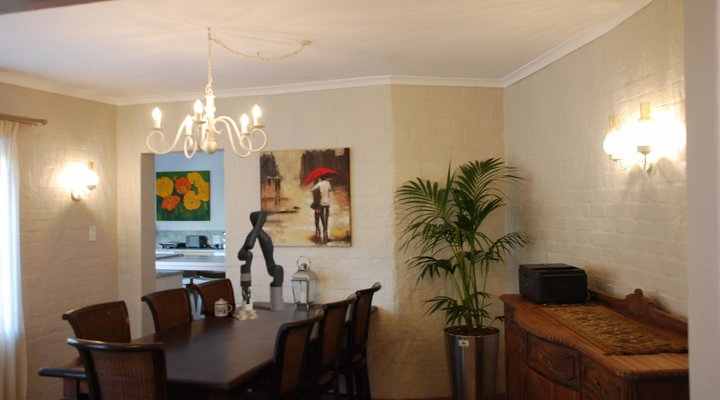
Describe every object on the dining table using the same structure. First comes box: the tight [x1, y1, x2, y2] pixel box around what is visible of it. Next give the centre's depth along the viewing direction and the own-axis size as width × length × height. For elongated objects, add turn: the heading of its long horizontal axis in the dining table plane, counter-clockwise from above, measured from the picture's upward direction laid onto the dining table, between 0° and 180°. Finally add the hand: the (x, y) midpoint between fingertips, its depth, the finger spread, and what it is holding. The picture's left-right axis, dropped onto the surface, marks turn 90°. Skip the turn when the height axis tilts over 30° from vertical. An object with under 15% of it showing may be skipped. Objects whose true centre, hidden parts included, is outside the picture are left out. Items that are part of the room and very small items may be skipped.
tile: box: [241, 299, 254, 311], centre depth 386 cm, size 7×2×10 cm, turn 116°
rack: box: [232, 308, 260, 321], centre depth 385 cm, size 14×17×5 cm
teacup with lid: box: [214, 298, 233, 317], centre depth 394 cm, size 12×9×12 cm
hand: (246, 303), depth 386 cm, fingers open, 8 cm apart
